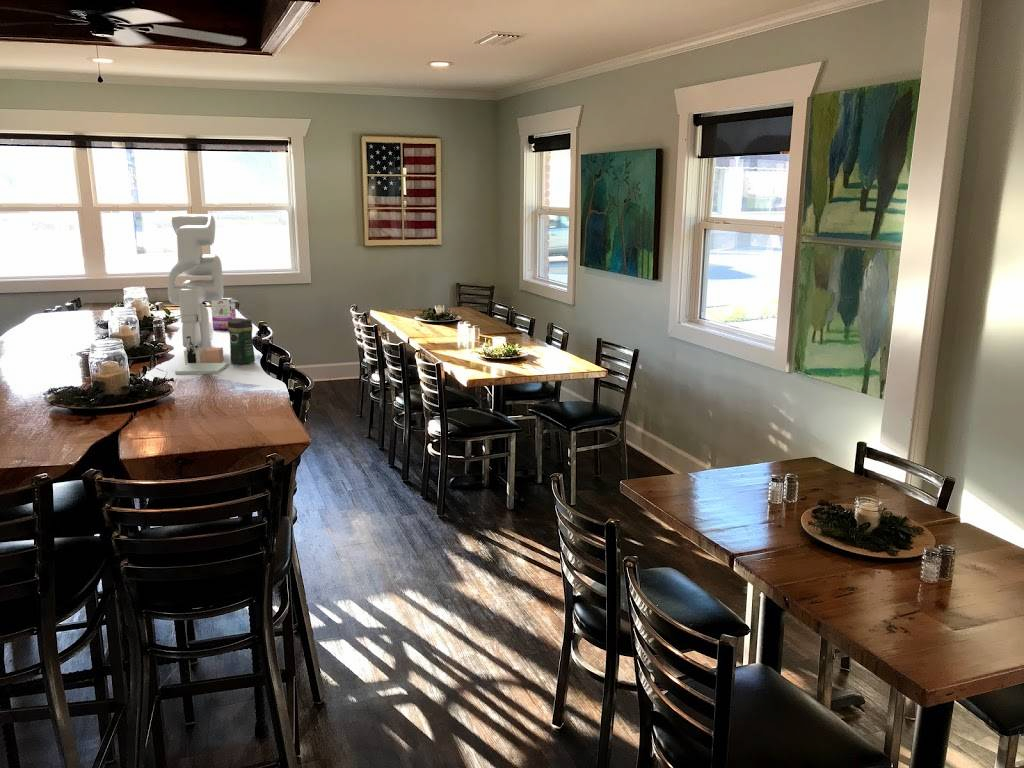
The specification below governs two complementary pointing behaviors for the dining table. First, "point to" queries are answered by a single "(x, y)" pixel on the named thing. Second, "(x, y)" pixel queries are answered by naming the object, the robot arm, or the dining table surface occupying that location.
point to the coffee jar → (241, 341)
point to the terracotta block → (213, 355)
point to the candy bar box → (222, 312)
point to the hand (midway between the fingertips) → (194, 361)
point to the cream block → (198, 355)
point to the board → (202, 368)
